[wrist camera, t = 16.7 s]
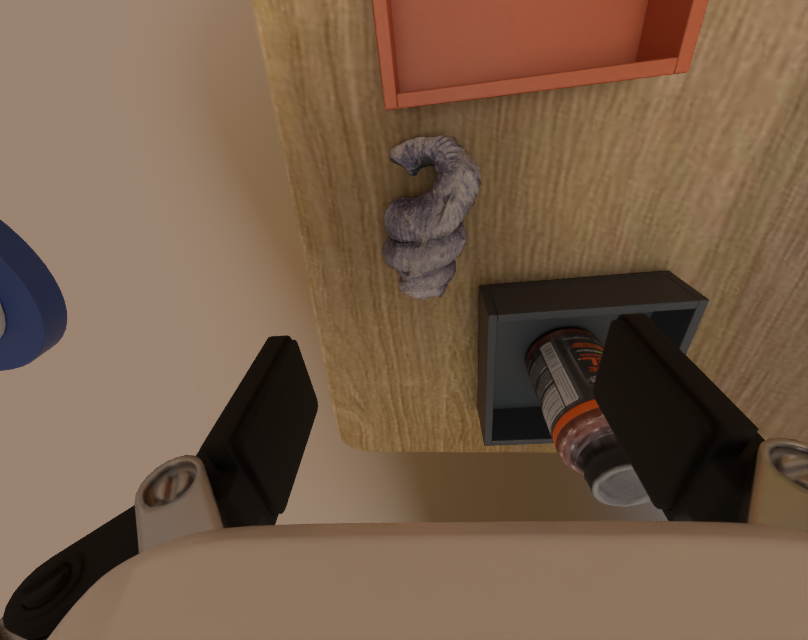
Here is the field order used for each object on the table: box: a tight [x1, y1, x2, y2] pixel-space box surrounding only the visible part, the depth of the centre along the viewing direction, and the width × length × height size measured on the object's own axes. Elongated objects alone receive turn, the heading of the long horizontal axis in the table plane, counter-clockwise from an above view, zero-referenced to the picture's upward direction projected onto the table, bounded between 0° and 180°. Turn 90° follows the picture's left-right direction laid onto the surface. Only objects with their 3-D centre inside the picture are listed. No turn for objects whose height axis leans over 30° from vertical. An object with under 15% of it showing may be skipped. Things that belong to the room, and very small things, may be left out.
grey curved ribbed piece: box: [382, 135, 481, 300], centre depth 21 cm, size 5×5×10 cm
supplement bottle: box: [526, 328, 651, 506], centre depth 23 cm, size 6×6×11 cm
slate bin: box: [478, 271, 709, 446], centre depth 27 cm, size 13×13×4 cm
